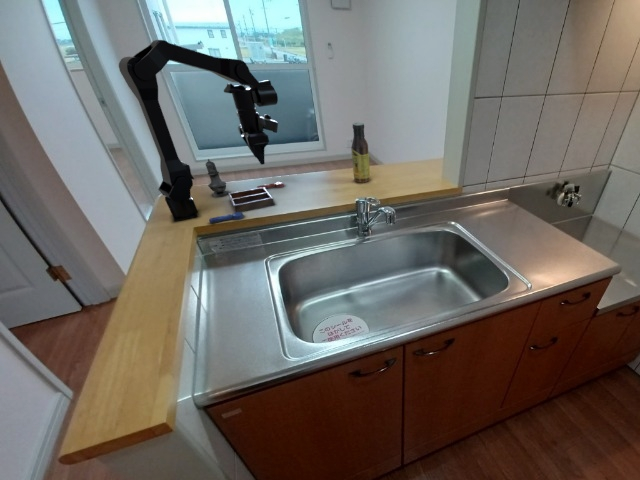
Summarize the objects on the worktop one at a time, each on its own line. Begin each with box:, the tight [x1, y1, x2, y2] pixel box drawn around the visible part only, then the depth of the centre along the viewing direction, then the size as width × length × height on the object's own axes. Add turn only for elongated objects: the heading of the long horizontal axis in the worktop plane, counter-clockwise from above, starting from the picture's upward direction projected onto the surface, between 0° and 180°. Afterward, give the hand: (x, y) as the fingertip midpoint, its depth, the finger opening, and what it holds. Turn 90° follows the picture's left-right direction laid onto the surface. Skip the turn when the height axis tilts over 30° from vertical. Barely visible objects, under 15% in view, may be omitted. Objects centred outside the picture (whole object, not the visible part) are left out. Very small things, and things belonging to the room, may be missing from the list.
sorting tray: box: [227, 187, 275, 213], centre depth 109 cm, size 12×12×2 cm
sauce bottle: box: [350, 122, 371, 184], centre depth 119 cm, size 7×6×20 cm
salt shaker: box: [205, 158, 230, 198], centre depth 112 cm, size 6×6×12 cm
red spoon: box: [256, 181, 285, 190], centre depth 120 cm, size 10×3×2 cm, turn 121°
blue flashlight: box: [208, 211, 244, 224], centre depth 98 cm, size 10×3×2 cm, turn 121°
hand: (259, 160), depth 112 cm, fingers open, 9 cm apart
